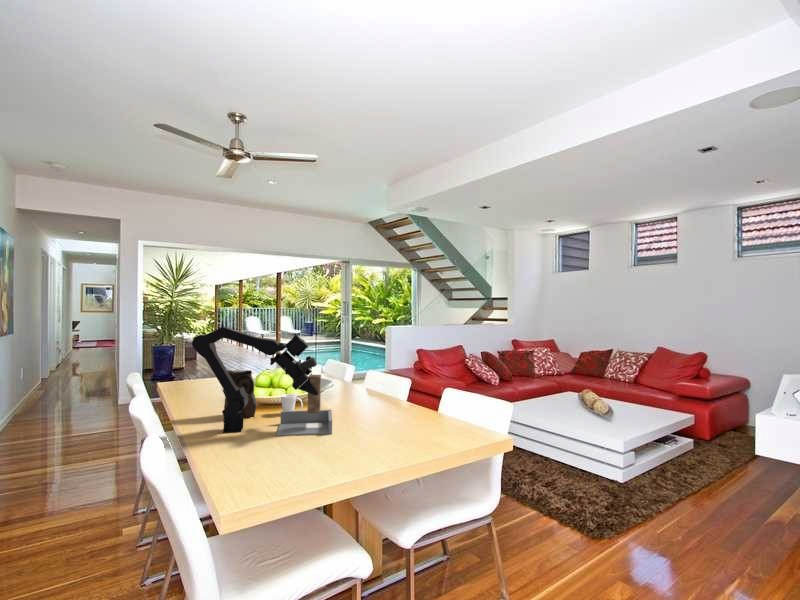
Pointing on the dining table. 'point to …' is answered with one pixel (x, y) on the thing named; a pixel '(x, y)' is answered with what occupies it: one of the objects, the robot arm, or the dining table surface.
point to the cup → (289, 402)
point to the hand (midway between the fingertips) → (317, 393)
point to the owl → (247, 382)
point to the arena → (305, 423)
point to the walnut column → (313, 399)
